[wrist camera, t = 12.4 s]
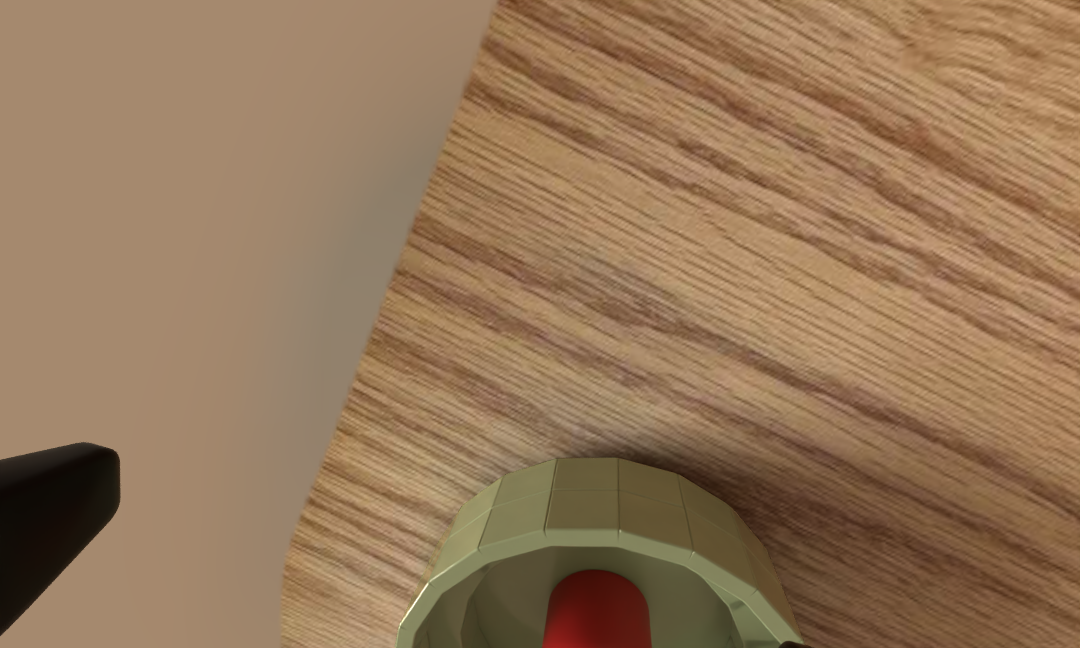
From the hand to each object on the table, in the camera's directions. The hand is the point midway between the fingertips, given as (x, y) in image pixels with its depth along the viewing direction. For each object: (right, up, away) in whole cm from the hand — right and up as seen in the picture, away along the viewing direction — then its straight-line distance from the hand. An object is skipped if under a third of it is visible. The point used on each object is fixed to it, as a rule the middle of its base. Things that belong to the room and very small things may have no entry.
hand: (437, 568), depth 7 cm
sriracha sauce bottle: (+4, -8, +13) cm, 16 cm away
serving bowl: (+4, -8, +14) cm, 16 cm away
